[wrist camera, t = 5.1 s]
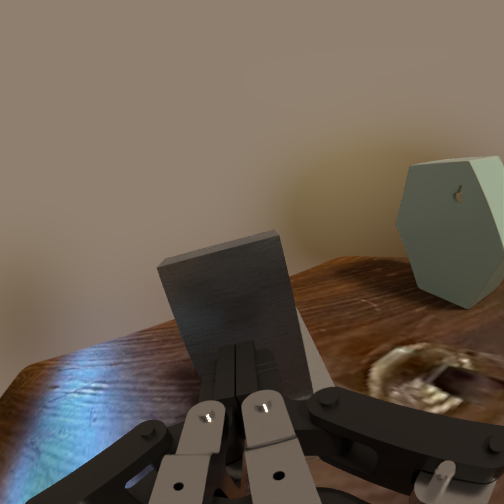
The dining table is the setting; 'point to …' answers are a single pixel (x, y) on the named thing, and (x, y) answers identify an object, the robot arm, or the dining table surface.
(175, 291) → the dark grey tapered block
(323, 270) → the dining table surface
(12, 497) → the dining table surface
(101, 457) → the robot arm
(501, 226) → the mint hexagonal prism
